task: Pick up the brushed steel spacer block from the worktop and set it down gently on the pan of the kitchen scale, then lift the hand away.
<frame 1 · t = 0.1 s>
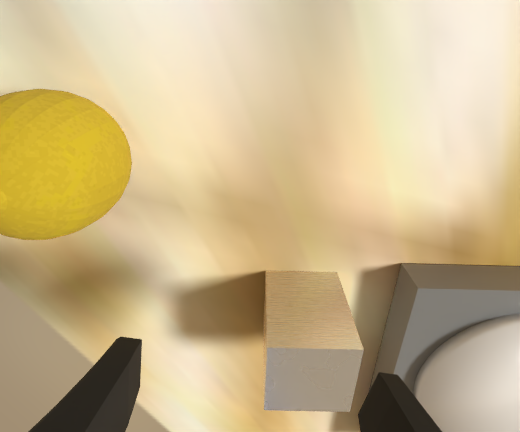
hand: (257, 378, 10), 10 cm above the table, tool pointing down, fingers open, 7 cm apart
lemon: (100, 139, 17), on the table
scale: (475, 359, 23), on the table
spacer: (298, 299, 21), on the table
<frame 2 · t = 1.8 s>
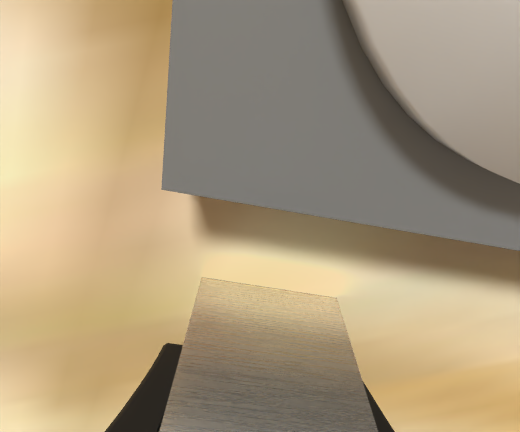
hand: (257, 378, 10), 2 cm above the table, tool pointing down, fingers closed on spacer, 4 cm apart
spacer: (257, 338, 11), on the table, touching gripper
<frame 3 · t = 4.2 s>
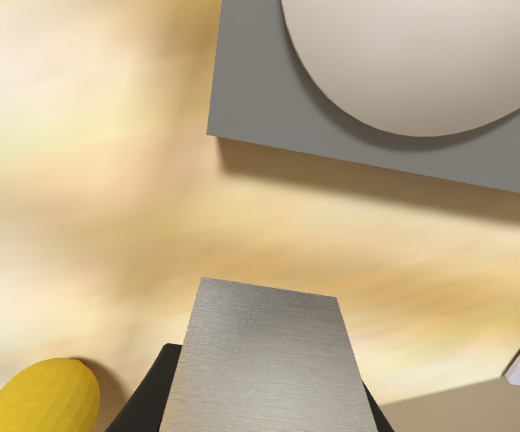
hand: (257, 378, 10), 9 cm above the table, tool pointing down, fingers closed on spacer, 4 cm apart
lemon: (79, 358, 22), on the table
spacer: (257, 337, 11), point 7 cm above the table, touching gripper
when the fingers open (6 cm above the table, at t = 6.7 s): spacer drops 1 cm, resting on scale.
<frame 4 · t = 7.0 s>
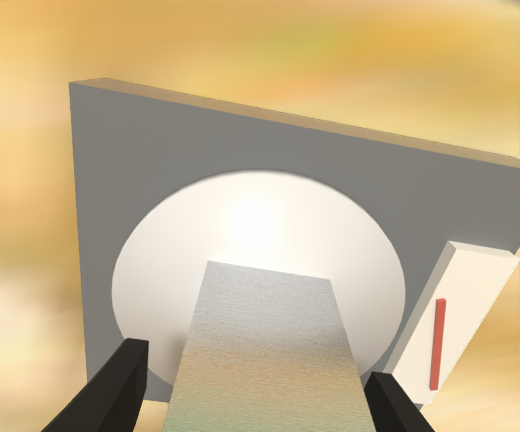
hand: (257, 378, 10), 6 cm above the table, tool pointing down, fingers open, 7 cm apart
scale: (279, 269, 16), on the table
spacer: (258, 316, 13), point 3 cm above the table, touching scale
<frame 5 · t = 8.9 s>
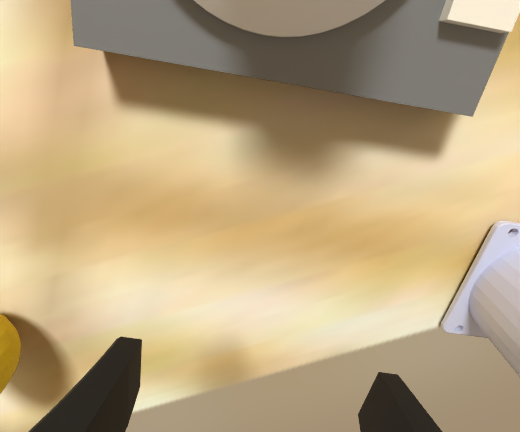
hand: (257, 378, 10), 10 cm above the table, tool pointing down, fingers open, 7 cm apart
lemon: (5, 315, 22), on the table
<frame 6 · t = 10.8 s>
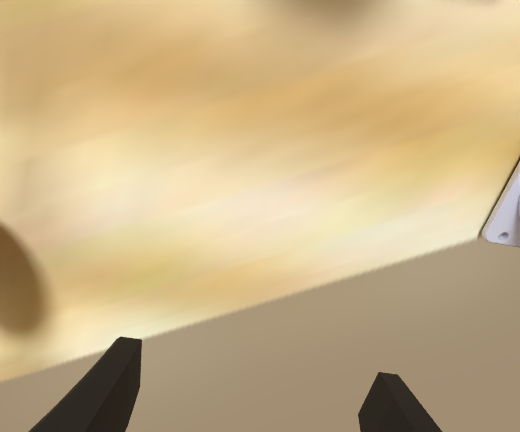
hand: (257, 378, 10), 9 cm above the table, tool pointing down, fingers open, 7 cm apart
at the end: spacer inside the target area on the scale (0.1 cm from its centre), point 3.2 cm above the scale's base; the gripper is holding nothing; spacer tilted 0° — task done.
